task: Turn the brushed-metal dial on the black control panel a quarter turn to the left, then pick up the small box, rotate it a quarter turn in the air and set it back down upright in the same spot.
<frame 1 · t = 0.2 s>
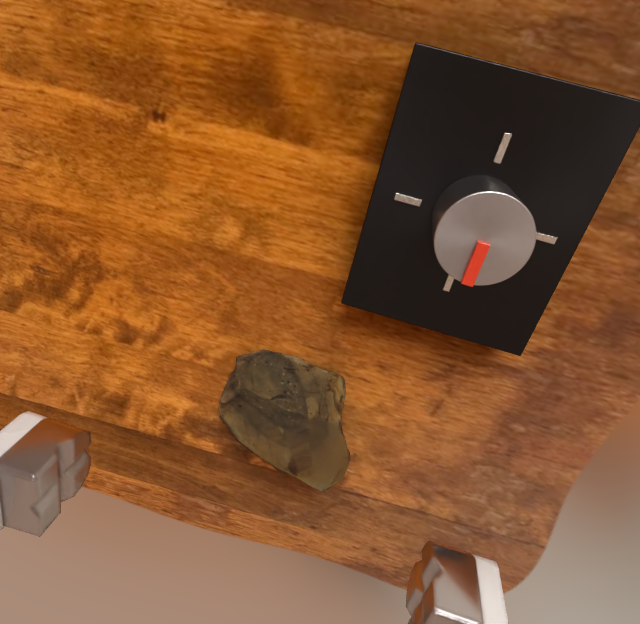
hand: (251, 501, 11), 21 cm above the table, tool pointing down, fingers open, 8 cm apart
panel: (468, 204, 27), on the table
dial: (479, 229, 23), point 5 cm above the table, hinge at 0.0°
decorative stone: (292, 404, 36), on the table
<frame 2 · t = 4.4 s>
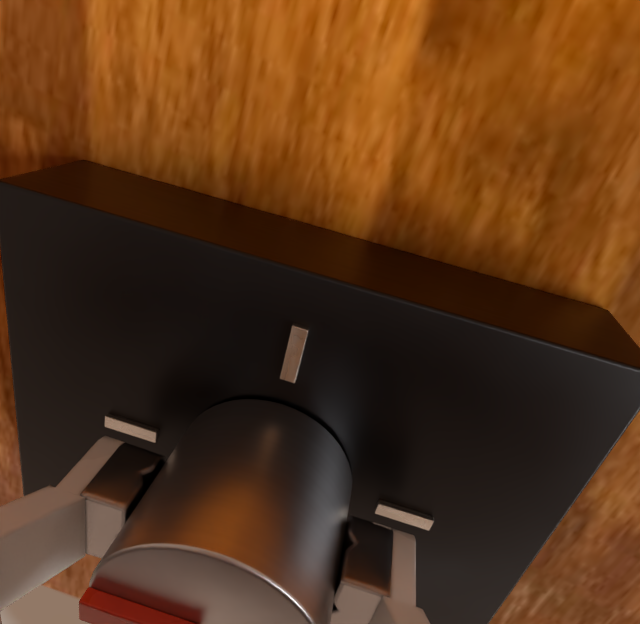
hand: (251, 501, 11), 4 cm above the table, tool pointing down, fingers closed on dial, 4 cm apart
panel: (293, 398, 15), on the table
dial: (237, 543, 10), point 5 cm above the table, hinge at 0.1°, touching gripper
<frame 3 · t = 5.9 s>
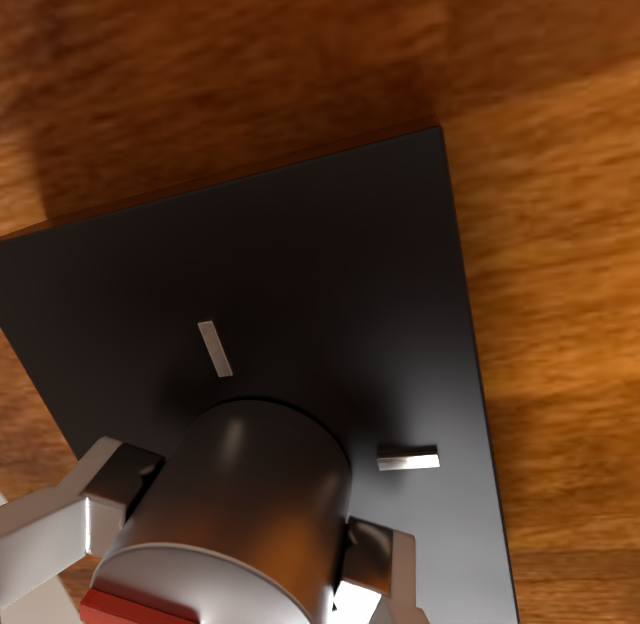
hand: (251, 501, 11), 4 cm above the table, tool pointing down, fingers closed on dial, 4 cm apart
panel: (293, 399, 15), on the table
dial: (237, 543, 10), point 5 cm above the table, hinge at 62.4°, touching gripper
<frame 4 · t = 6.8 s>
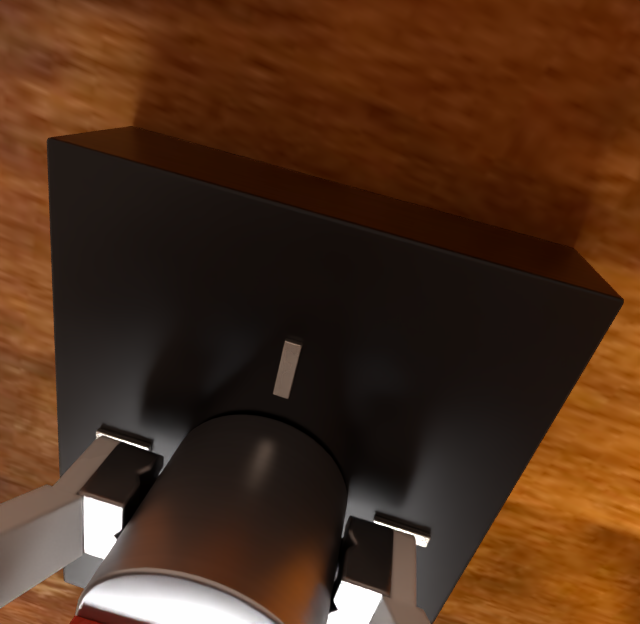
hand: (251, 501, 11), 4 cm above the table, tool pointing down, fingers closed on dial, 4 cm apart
panel: (289, 410, 14), on the table
dial: (229, 563, 10), point 5 cm above the table, hinge at 93.6°, touching gripper
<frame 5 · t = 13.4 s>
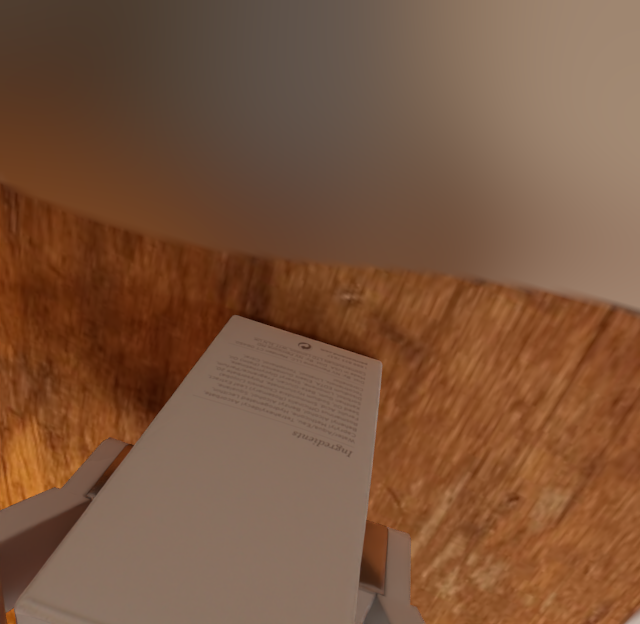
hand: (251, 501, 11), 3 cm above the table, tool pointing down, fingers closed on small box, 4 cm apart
small box: (287, 414, 14), on the table, touching gripper
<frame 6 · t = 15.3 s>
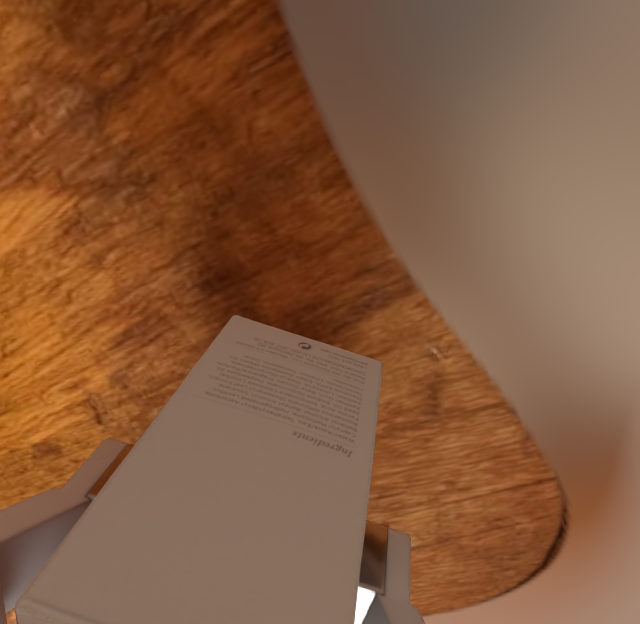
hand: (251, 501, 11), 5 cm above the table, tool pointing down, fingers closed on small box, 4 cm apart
small box: (287, 414, 14), point 2 cm above the table, touching gripper
when the fingers open (3 cm above the table, at t = 17.0 s): small box stays where it is, on the table.
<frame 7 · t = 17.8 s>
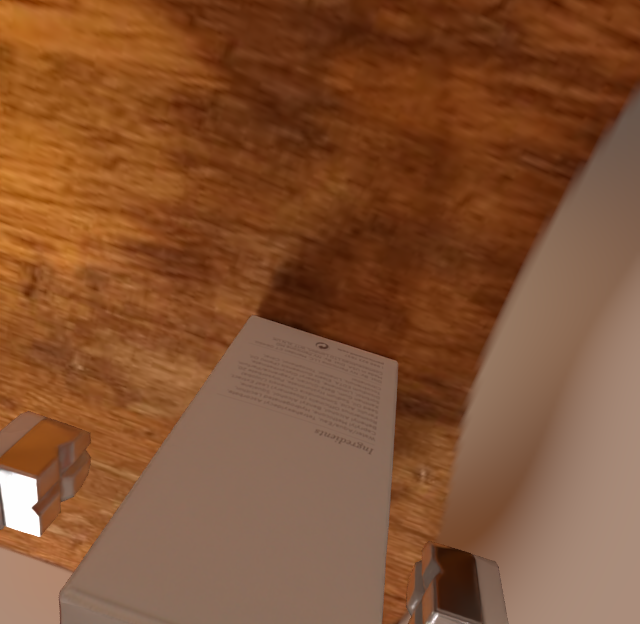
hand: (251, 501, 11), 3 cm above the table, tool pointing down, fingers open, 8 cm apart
small box: (302, 413, 14), on the table
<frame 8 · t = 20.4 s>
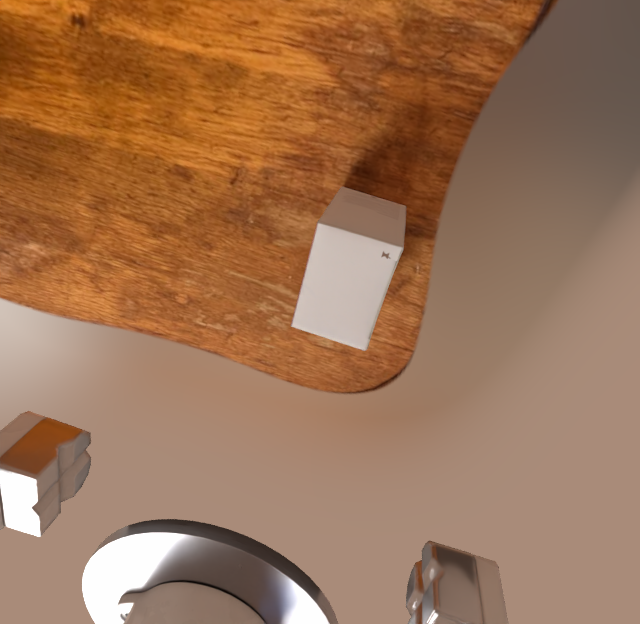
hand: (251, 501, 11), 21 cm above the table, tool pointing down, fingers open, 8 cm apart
small box: (360, 240, 30), on the table
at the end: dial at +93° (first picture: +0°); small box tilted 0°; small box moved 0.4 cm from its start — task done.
